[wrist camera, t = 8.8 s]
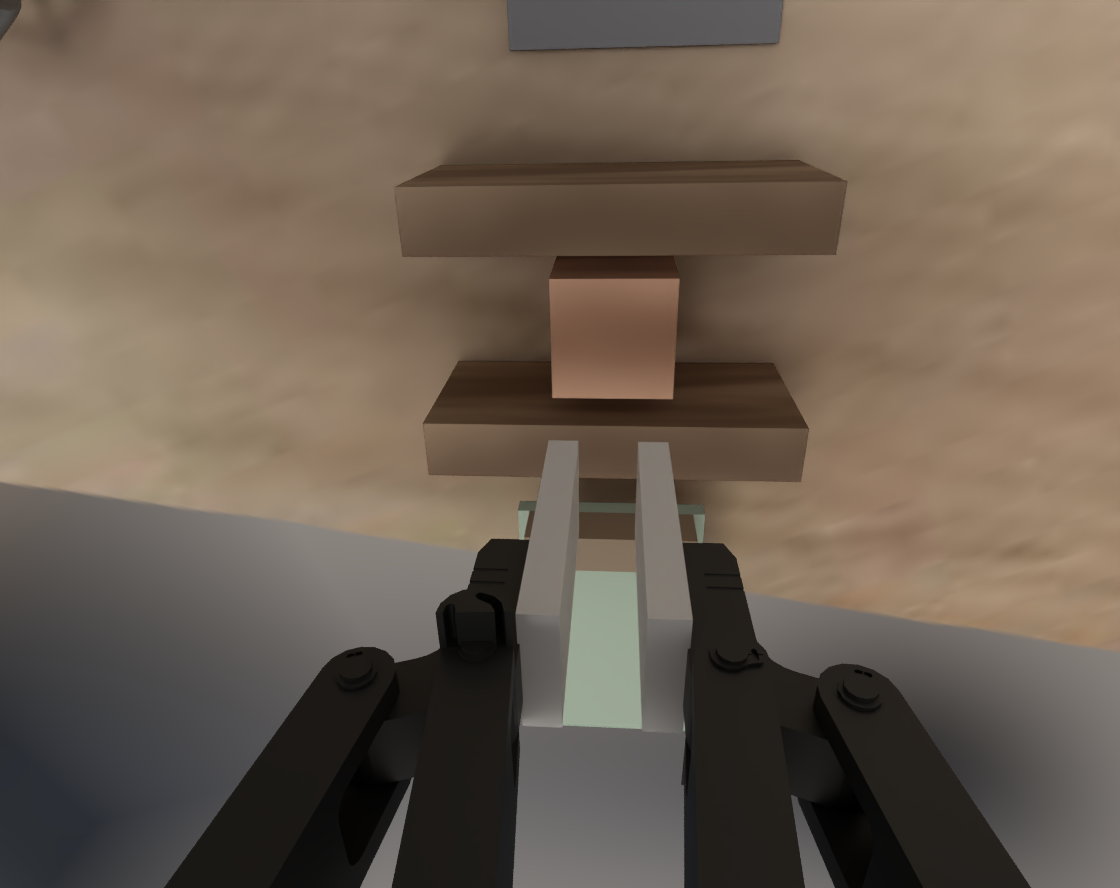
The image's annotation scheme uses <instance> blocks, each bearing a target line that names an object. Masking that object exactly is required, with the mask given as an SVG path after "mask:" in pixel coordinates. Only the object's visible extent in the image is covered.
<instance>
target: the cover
mask: <svg viewBox="0 0 1120 888" xmlns="http://www.w3.org/2000/svg"><path fill="white" fill-rule="evenodd" d="M536 504H537V501H520V504H519V509H518V519H519V536H520V540H530V536H531V530H532V525H533V520H534V515H535V509H536ZM677 509H678V516H679V523H680V530H681V538H682V542H684V543H703V534H704V522H705V512H704V507H703V505H690V504H677ZM635 512H636V503H597V502H579V537H578V549H577V560H576V572H575V583H574V595H573V606H572V618H571V630H570V641H569V653H568V664H567V676H566V688H565V699H564V711H563V722H562V725H569V726H591V727H615V728H635V729H636V728H637V729H642V716H641V689H640V661H639V634H638V606H637V579H636V552H635ZM683 731H685V724H684V726H683Z"/></svg>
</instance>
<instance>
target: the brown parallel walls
mask: <svg viewBox="0 0 1120 888" xmlns="http://www.w3.org/2000/svg"><path fill="white" fill-rule="evenodd" d="M846 187H847V181H845V180H843V179H841V178H838V177H836V176H834V175H831V174H829V173H827V172H825V171H822V170H820V169H818V168H815V167H813V166H811V165H809V164H806V163H804V162H802V161H799V160H772V161H705V162H638V163H571V164H505V165H440V166H438V167H436V168H434V169H432V170H430V171H428V172H426V173H423V174H421V175H419V176H417V177H415V178H413V179H411V180H408V181H406V182H404V183H402V184H400V185H398V186H396V187H394V190H395V198H396V207H397V215H398V223H399V231H400V240H401V248H402V256H403V257H468V256H668V255H836V251H837V245H838V238H839V232H840V225H841V219H842V213H843V206H844V200H845V193H846ZM423 429H424V438H425V446H426V454H427V462H428V471H429V475H458V476H511V477H542V473H543V468H544V462H545V457H546V452H547V447H548V441H549V440H562V441H578V446H579V478H616V479H637V458H638V442H668V443H669V450H670V458H671V465H672V472H673V479H674V480H722V481H775V482H801V477H802V471H803V464H804V458H805V451H806V445H807V439H808V432H809V428H808V426H807V424H806V422H805V421H804V419H803V417H802V415H801V413H800V411H799V410H798V408H797V406H796V404H795V402H794V400H793V399H792V397H791V395H790V393H789V391H788V389H787V388H786V386H785V384H784V382H783V380H782V378H781V377H780V375H779V373H778V371H777V369H776V367H775V366H774V364H768V363H675V370H674V387H673V399H605V398H552V366H551V362H458V363H457V365H456V367H455V369H454V370H453V372H452V374H451V375H450V377H449V379H448V381H447V382H446V384H445V386H444V388H443V389H442V391H441V393H440V395H439V396H438V398H437V400H436V402H435V403H434V405H433V407H432V409H431V410H430V412H429V414H428V415H427V417H426V419H425V421H424V422H423Z"/></svg>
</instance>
